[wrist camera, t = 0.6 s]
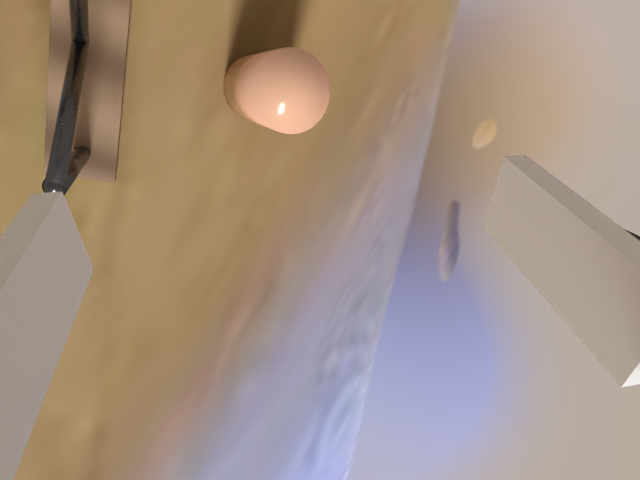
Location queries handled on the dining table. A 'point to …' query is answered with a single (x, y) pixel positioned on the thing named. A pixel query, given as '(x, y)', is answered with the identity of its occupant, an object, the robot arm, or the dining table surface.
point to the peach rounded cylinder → (278, 89)
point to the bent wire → (70, 107)
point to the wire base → (91, 83)
